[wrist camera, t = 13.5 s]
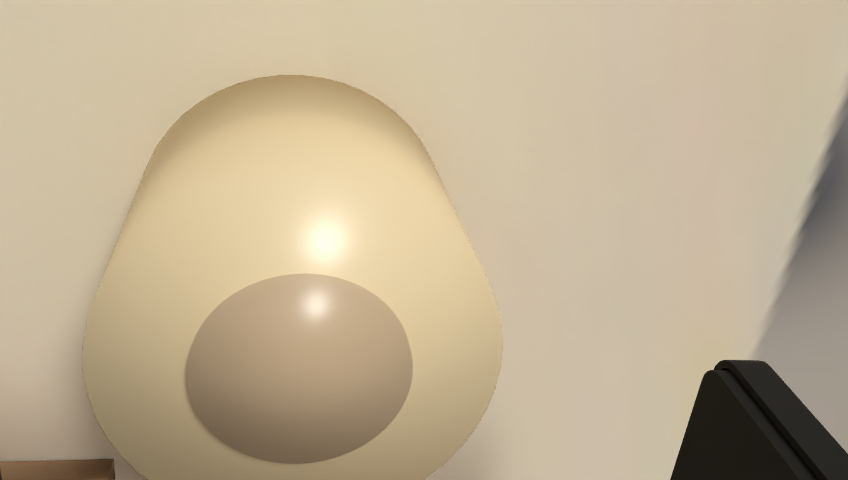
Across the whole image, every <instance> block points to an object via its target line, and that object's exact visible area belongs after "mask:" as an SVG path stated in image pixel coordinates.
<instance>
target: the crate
mask: <svg viewBox="0 0 848 480" xmlns="http://www.w3.org/2000/svg"><path fill="white" fill-rule="evenodd" d="M0 471H1V477H2V480H115V473H114V460H113V459H102V460H63V461H23V462H0Z"/></svg>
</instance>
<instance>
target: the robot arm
mask: <svg viewBox="0 0 848 480" xmlns="http://www.w3.org/2000/svg"><path fill="white" fill-rule="evenodd" d="M0 480H2V477H1V471H0ZM670 480H848V454H847V453H846V451H845V450H844V449H843V448H842V447H841V446H840V445H839V444H838V442H837V441H836V440H835V439H834V438H833V437H832V436H831V435H830V433H829V432H828V431H827V430H826V429H825V428H824V427H823V425H821V423H820V422H819V421H818V420H817V419H816V418H815V416H813V414H812V413H811V412H810V411H809V410H808V409H807V407H806V406H805V405H804V404H803V403H802V402H801V401H800V399H799V398H798V397H797V396H796V395H795V394H794V393H793V392H792V390H791V389H790V388H789V387H788V386H787V385H786V384H785V383H784V381H783V380H782V379H781V378H780V377H779V376H778V375H777V374H776V373H775V371H774V370H773V369H772V368H771V367H770V366H769V365H768V364H767V363H765V362H763V361H754V360H723V361H720V362H719V363H718V364H717V365H716V366H715V368H714V370H710V371H707V372H706V373H705V375H704V377H703V379H702V382H701V385H700V388H699V391H698V394H697V397H696V400H695V404H694V407H693V410H692V413H691V416H690V419H689V422H688V426H687V429H686V432H685V435H684V438H683V441H682V445H681V448H680V451H679V454H678V457H677V460H676V463H675V467H674V470H673V473H672V476H671V479H670Z"/></svg>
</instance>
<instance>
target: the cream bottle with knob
mask: <svg viewBox="0 0 848 480" xmlns="http://www.w3.org/2000/svg"><path fill="white" fill-rule="evenodd" d="M502 350H503V339H502V324H501V319H500V314H499V309H498V304H497V301H496V299H495V296H494V293H493V291H492V288H491V286H490V283H489V281H488V279H487V276H486V274H485V272H484V270H483V268H482V266H481V264H480V262H479V259H478V257H477V255H476V253H475V251H474V249H473V247H472V245H471V243H470V240H469V238H468V236H467V234H466V232H465V230H464V228H463V226H462V223H461V221H460V219H459V217H458V215H457V213H456V211H455V209H454V206H453V204H452V202H451V200H450V198H449V196H448V194H447V192H446V189H445V187H444V185H443V183H442V181H441V179H440V177H439V175H438V172H437V170H436V168H435V166H434V164H433V162H432V160H431V158H430V156H429V154H428V152H427V151H426V149H425V147H424V145H423V143H422V142H421V140H420V139H419V138H418V136H417V135H416V134H415V132H414V131H413V130H412V129H411V127H410V126H409V125H408V124H407V123H406V122H405V121H404V120H403V119H402V118H401V117H400V116H399V115H398V114H397V113H396V112H394V111H393V110H392V109H390V108H389V107H388V106H386V105H385V104H384V103H382V102H381V101H380V100H378V99H376V98H374V97H372V96H371V95H369V94H367V93H365V92H364V91H361V90H359V89H357V88H354V87H352V86H349V85H347V84H344V83H341V82H337V81H333V80H329V79H325V78H320V77H312V76H304V75H277V76H269V77H262V78H256V79H252V80H249V81H245V82H241V83H237V84H235V85H232V86H230V87H228V88H225V89H223V90H220V91H218V92H216V93H214V94H213V95H211V96H209V97H207V98H206V99H204V100H202V101H200V102H199V103H198V104H196V105H195V106H194V107H192V108H191V109H190V110H189V111H187V112H186V113H185V114H183V115H182V116H181V117H180V118H179V119H178V120H177V122H176V123H175V124H174V125H173V126H172V127H171V128H170V129H169V130H168V131H167V133H166V134H165V135H164V137H163V138H162V140H161V141H160V142H159V144H158V145H157V147H156V149H155V151H154V153H153V155H152V157H151V159H150V161H149V162H148V165H147V167H146V170H145V173H144V175H143V178H142V180H141V183H140V185H139V188H138V190H137V193H136V195H135V198H134V201H133V203H132V206H131V208H130V211H129V213H128V216H127V218H126V221H125V223H124V226H123V228H122V231H121V234H120V236H119V239H118V241H117V244H116V246H115V249H114V251H113V254H112V256H111V259H110V262H109V264H108V267H107V269H106V272H105V274H104V277H103V279H102V282H101V284H100V287H99V290H98V292H97V295H96V297H95V300H94V303H93V306H92V309H91V312H90V315H89V318H88V321H87V324H86V330H85V336H84V342H83V374H84V380H85V385H86V391H87V395H88V398H89V401H90V404H91V406H92V409H93V412H94V415H95V417H96V419H97V421H98V422H99V424H100V426H101V428H102V430H103V432H104V433H105V435H106V437H107V438H108V439H109V441H110V442H111V443H112V445H113V446H114V447H115V449H116V450H117V451H118V453H119V454H120V455H121V456H122V457H123V458H124V459H125V460H126V461H127V462H128V463H129V464H130V465H131V466H132V467H133V468H134V469H135V470H136V471H137V472H139V473H140V474H141V475H143V476H144V477H145V478H147V479H148V480H424V479H425V478H427V477H428V476H430V475H431V474H432V473H433V472H435V471H436V470H437V469H438V468H440V467H441V466H442V465H443V464H444V463H446V462H447V461H448V460H449V459H450V458H451V457H452V456H453V455H454V454H455V453H456V452H457V451H458V450H459V448H460V447H461V446H462V445H463V444H464V443H465V441H466V440H467V439H468V438H469V436H470V435H471V434H472V432H473V431H474V430H475V428H476V427H477V425H478V423H479V422H480V420H481V418H482V417H483V415H484V413H485V411H486V410H487V408H488V405H489V403H490V400H491V398H492V396H493V393H494V391H495V388H496V384H497V380H498V376H499V373H500V369H501V360H502Z"/></svg>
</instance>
